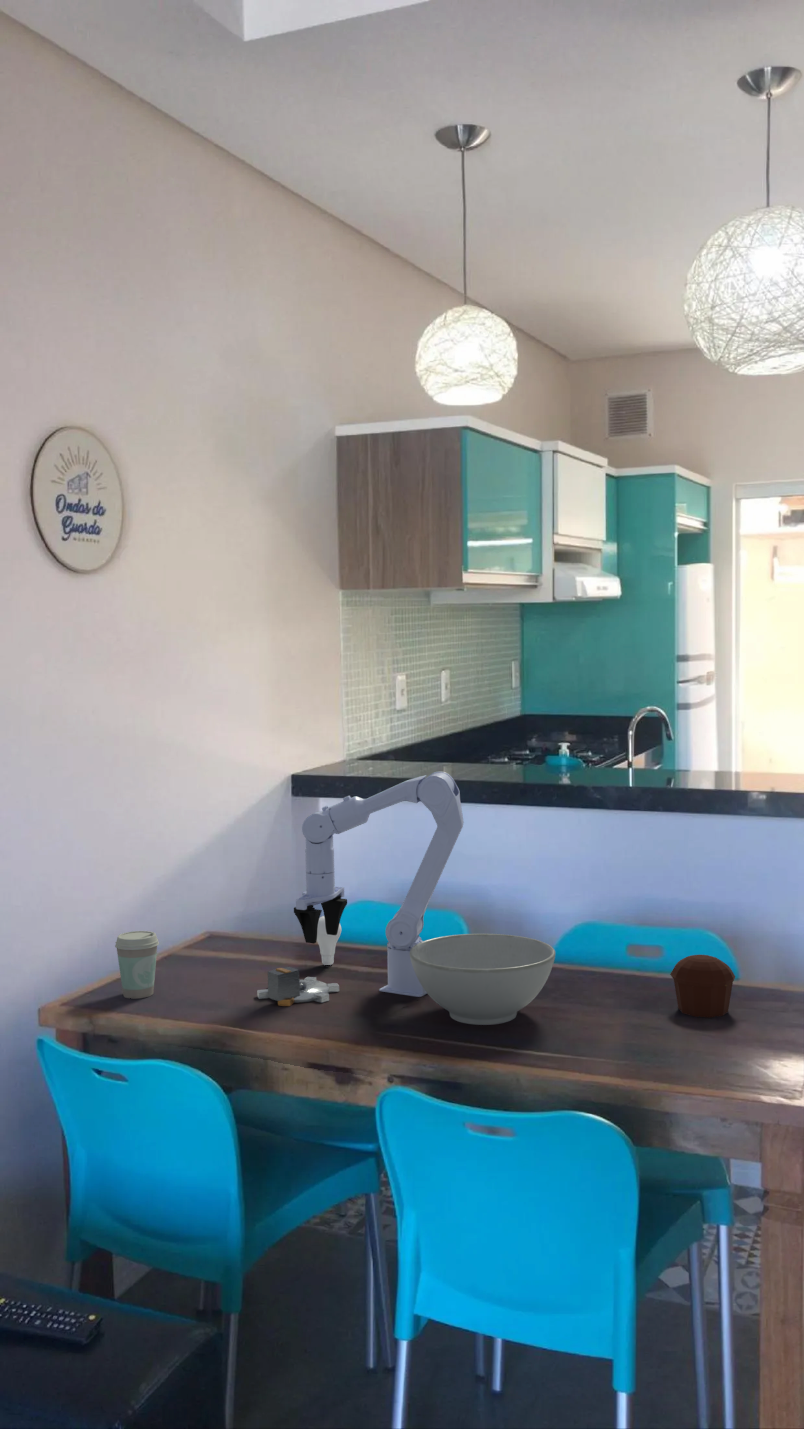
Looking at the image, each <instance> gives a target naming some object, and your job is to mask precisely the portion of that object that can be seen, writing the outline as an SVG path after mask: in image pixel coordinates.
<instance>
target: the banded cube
mask: <svg viewBox="0 0 804 1429" xmlns="http://www.w3.org/2000/svg"><path fill="white" fill-rule="evenodd" d="M272 970H273V971H271V970H269V971H267V989H268V997H269V998H268V999H270V998H271V1000H272V999H274V1000H273V1001H275V1000H277V1001H276V1002H278V1001H281V1000H285V999H289V998H293V997H297V996H300V981H299V980H300V969H298V968H294V967H291V966H287V967H277V968H275V969H272Z"/></svg>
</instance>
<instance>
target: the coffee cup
mask: <svg viewBox="0 0 804 1429" xmlns="http://www.w3.org/2000/svg"><path fill="white" fill-rule="evenodd" d="M159 944H160V942H159V939H158V936H157V933H156V932H153V931H151V930H150V931H148V930H135V931H133V930H132V931H128V932H124V933H123V932H122V933H120V934H119V935H117V937H116V941H115V945H114V947H115V948H116V953H117V954H116V955H117V960H118V966H119V973H120V975H119V976H120V980H121V988H122V989H121V990H122V995H123V997H124V998H126V999H130V998H131V1000H133V999H134V1000H137V999H145V998H149V997H151V996H152V995H153V994H154V988H155V978H156V967H157V966H156V965H157V954H158V946H159Z"/></svg>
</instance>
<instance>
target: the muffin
mask: <svg viewBox="0 0 804 1429" xmlns="http://www.w3.org/2000/svg"><path fill="white" fill-rule="evenodd" d="M670 976H671V978H672V979H673V983H674V991H675V995H676V1002H677V1008H678V1010H680V1012H681V1013H682V1014H684V1015H687V1016H688V1015H689V1016H691V1017H695V1018H696V1017H697V1018H698V1017H699V1016H700V1017H699V1018H711V1019H712V1018H716V1017H715V1016H717V1017H723V1016H724V1015H726V1014H728V1013H729V1010H730V1003H731V996H732V989H733V983H734V981H735V979H736V975H735V974H734V972H733V970H732V968H731V967H730V966H729V965H728V964H727V963H726V962H724V961H722V960H721V959H720V958H718V957H715V956H712V955H708V954H692V955H689V956H686V957H684V958H682V959H680V960H678V962H677V963H676V964H674V967H673V969H672V970H671V972H670Z"/></svg>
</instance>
